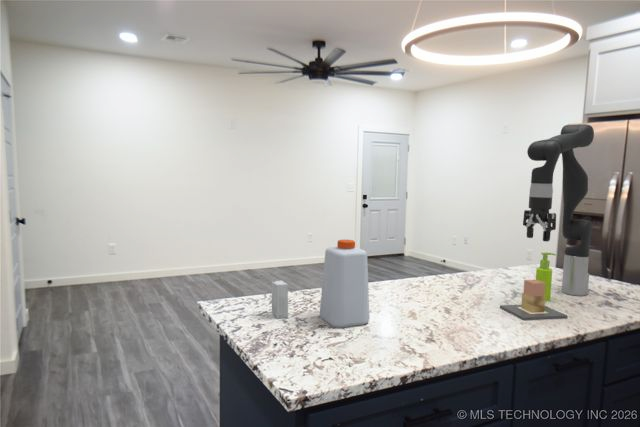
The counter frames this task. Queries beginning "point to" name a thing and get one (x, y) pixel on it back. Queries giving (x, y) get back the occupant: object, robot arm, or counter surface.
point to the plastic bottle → (345, 286)
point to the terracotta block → (534, 288)
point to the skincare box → (279, 299)
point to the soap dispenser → (545, 274)
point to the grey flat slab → (528, 315)
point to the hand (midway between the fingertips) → (537, 239)
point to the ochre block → (533, 303)
